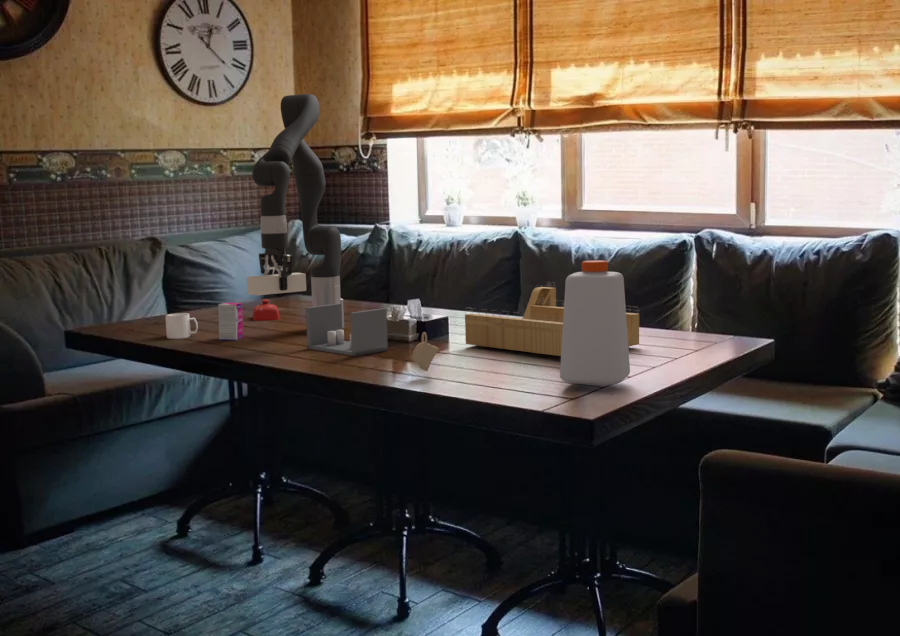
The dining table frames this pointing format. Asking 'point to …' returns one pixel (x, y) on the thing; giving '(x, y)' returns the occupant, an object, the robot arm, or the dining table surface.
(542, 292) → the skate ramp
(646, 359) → the dining table surface
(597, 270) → the plastic bottle
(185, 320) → the mug
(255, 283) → the cream rectangular block
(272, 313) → the butter dish
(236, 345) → the dining table surface
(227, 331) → the supplement box
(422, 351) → the tan teacup
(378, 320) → the peg stand
